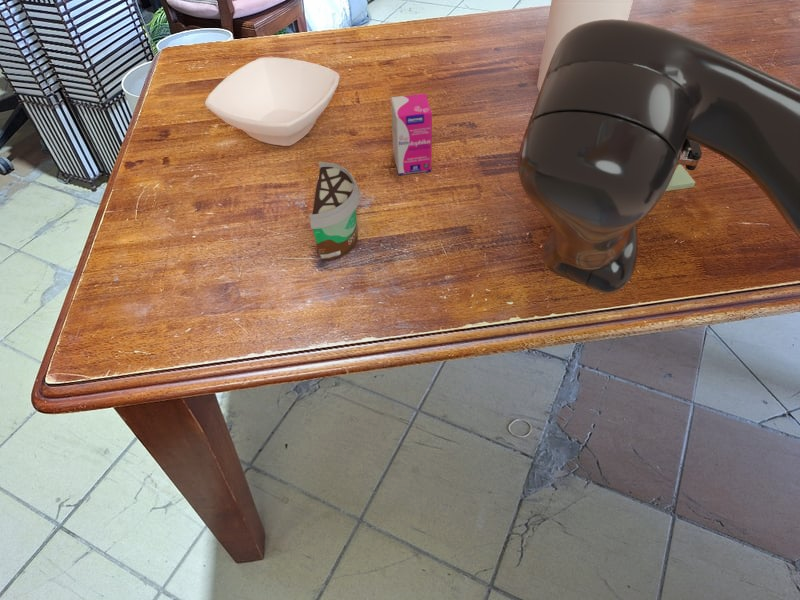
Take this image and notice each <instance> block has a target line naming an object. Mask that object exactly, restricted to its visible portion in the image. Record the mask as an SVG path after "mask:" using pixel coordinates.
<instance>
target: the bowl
mask: <svg viewBox="0 0 800 600" xmlns="http://www.w3.org/2000/svg"><path fill="white" fill-rule="evenodd" d="M339 83H340V74H339V73H338V72H336V71H335V70H333V69H331V68H329V67H327V66H324V65H321V64H317V63H313V62H309V61H306V60H301V59H293V58H288V57H287V58H286V57H276V56H275V57H274V56H272V57H271V56H270V57H269V56H267V57H259V58H257V59H254V60H252V61H250V62H248V63H246V64H244V65H243V66H241V67H239V68H237V69H236V70H235V71H234V72H231V74H229V75H228V76H226V77H225V78H223V80H221V82H219V83H218V84H217V85H216V87H214V89H212V91H211V92H210V93H209V94H208V96H207V97H206V100H205V102H204V105H205V107H206V108H207V109H208V110H209V111H210V112H212V113H213V114H215V115H216V117H218V118H219V119H221V120H222V121H223V122H225V123H226V124H228V125H230V126H231V127H234V128H236V129H239V130H242V131H243V132H244V133H245V134H247V135H248V136H249V137H250V138H252V139H254V140H257V141H259V142H261V143H264V144H268V145H273V146H284V147H290V146H292V145H294V144H296V143H298V141H300V140H302V139H304V137H305V136H307V135H308V134H309V132H310V131H311V130H312V128H313V127H314V125H315V124H316V123H317V121H318V118H319V117H320V116H321V115H322V113H323V112H324V111H325V110H326V109H327V107H328V105H329V104H330V102H331V101H332V99H333V96H334V95H335V92H336V90H337V88H338V85H339Z"/></svg>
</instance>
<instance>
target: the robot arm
mask: <svg viewBox="0 0 800 600" xmlns="http://www.w3.org/2000/svg"><path fill="white" fill-rule="evenodd" d="M538 92H539V91H538ZM537 95H538V96H537V98H536V101H535V104H534V106H533V109H532V112H531V115H530V117H529V120H528V124H527V127H526V129H525V131H524V134H523V137H522V141H521V144H520V146H519V152H518V157H517V173H518V178H519V181H520V183H521V186H522V189H523V191H524V193H525V194H526V196H527V197H528V199H529V200H530V201H531V203H532V204H533V205H534V207H535V208H536V209H537V210H538V212H539V213H540V214H541V215H542V216H543V218H544V219H545V220H546V221H547V223H548V224H549V225H550V226H551V227H552V229H551V231H550V232H549V233H548V235H547V237H546V239H545V241H544V244H543V248H542V252H541V253H542V257H541V258H542V263H543V265H544V266H545V268H546V269H547V270H548V271H550V272H551V273H553V274H554V275H557V276H559V277H561V278H563V279H567V280H569V281H571V282H574V283H576V284H578V285H580V286H583V287H586V288H588V289H590V290H593V291H595V292H597V293H600V294H614V293H617V292H618V291H620V290H622V289H624V287H625V286H627V285H628V283H630V281H631V279H632V277H633V276H634V273H635V270H636V267H637V263H638V262H637V261H638V253H639V242H638V241H639V228H640V226H641V223H642V221H643V220H644V218H646V216H647V215H648V214H649V213H650V212H651V211H652V210H653V209H654V207H655V206H656V205H657V204H658V203H659V201H660V200H661V198H662V197H663V195H664V194H665V193H666V191H665V190H666V189H667V187H668V185H669V183H670V181H671V179H672V176H673V173H674V171H675V168H676V166H677V164H678V165H682V166H685V169H686V170H688V171H695V170H696V168H697V166H698V164H699V162H700V160H701V158H702V156H703V153H702V149H701V146H702V147H704V148H706V150H709V151H711V152H713V153H715V154H717V155H719V156H721V157H722V158H724V159H725V160H727V161H729V162H730V163H732V164H733V165H735V166H736V167H737V168H739V169H740V170H741V171H742V172H744V173H745V174H746V175H747V176H748V177H749V178H750V179H751V180H752V181H753V182H754V183H755V184H756V185H757V187H758V188H759V189H760V190H761V191H762V193H763V194H764V195H765V196H766V197H767V198H768V200H769V201H770V203H771V204H772V205H773V207H774V208H775V209H776V210H777V212H778V213H779V214H780V215H781V217H782V218H783V219H784V221H785V222H786V223H787V225H788V226H789V227H790V228H791V230H792V231H793V232H794V234H795V235H796V236H797V237H798V238H799V239H800V87H799V86H797V85H795V84H794V83H790V82H789V81H786V80H784V79H782V78H780V77H778V76H775V75H774V74H771V73H769V72H767V71H764V70H762V69H760V68H759V67H756V66H753V65H751V64H749V63H748V62H746V61H743V60H741V59H739V58H737V57H735V56H732V55H730V54H728V53H727V52H726V53H725V52H723V51H721V50H719V49H717V48H714V47H713V46H710V45H707V44H705V43H703V42H701V41H699V40H696V39H694V38H692V37H690V36H686V35H684V34H681V33H679V32H676V31H673V30H670V29H667V28H664V27H660V26H658V25H654V24H649V23H645V22H641V21H637V20H636V21H635V20H629V19H628V20H615V19H609V20H596V21H592V22H588V23H585V24H581V25H579V26H577V27H575V28H574V29H572V30H571V31H569V32H568V33H567V34H566V35H565V36H564V37H563V38H562V39H561V41H560V42H559V44H558V46H557V48H556V50H555V52H554V54H553V57H552V59H551V62H550V65H549V68H548V70H547V73H546V76H545V78H544V81H543V84H542V87H541V90H540V92H539V93H538V94H537Z"/></svg>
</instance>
